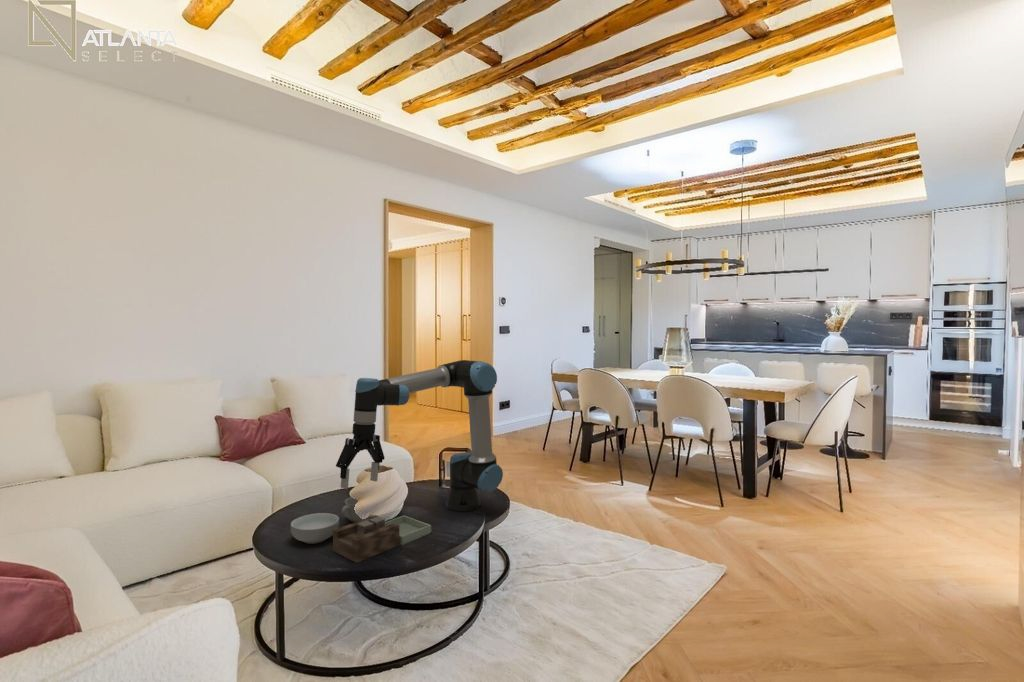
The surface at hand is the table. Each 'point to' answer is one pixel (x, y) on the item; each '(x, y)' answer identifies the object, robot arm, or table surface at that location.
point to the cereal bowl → (314, 527)
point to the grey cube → (378, 522)
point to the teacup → (350, 510)
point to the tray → (410, 528)
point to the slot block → (364, 541)
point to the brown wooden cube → (364, 527)
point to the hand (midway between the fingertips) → (359, 484)
